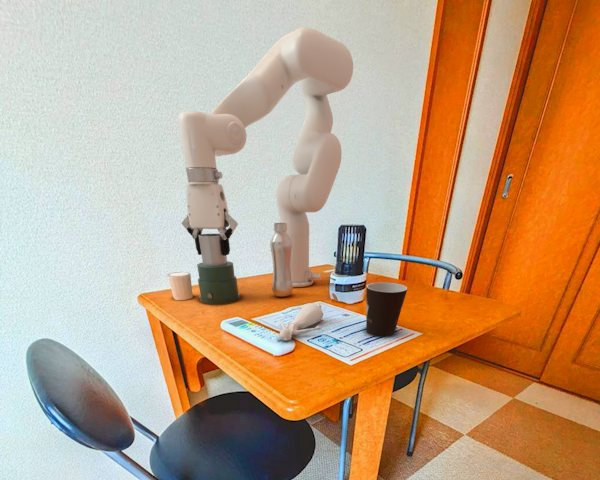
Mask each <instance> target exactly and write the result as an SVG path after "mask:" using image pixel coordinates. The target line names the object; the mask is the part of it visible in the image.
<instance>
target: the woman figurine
mask: <svg viewBox="0 0 600 480" xmlns="http://www.w3.org/2000/svg"><path fill="white" fill-rule="evenodd" d="M323 318H324V312H323V309H322V305H321V304H319V305H318V304H316V303H313V302H312V303H311V302H310V303H308V302H307V303H305V304H303V305H302V306H301V308H300V309H299V311H298V313H297V314H296V316H295V317H294V319H292V322H291V321H288V323H287V324H286V326H285V325H284V324H283V322H282V319H281V318H278V319H277V322H278V324H279V325H280V327H281V328H282V329H281V330H280V331H279V334H278V338H279V340H281V341H283V342H288V341H290V340H292V337H293V336H297V335H299V334H301V333H306V332H312V331H320V330H322V329H323V326H320V325H316V326H315V327H311V326H314V325H315V324H317V323H319V322H321V321H322V320H323ZM308 327H311V328H308ZM280 337H281V338H280ZM284 338H286V339H284Z"/></svg>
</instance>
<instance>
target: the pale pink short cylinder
mask: <svg viewBox="0 0 600 480" xmlns="http://www.w3.org/2000/svg"><path fill="white" fill-rule="evenodd" d="M166 278H167V281H168V284H169V287H170V290H171V293H172V297H173V299H174V300H175V301H186V300H191V299H193V298H194V297H193V295H194V294H193V285H192V276H191V272H188V271H187V272H186V271H176V272H175V271H174V272H170V273H167V274H166Z"/></svg>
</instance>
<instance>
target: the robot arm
mask: <svg viewBox="0 0 600 480" xmlns="http://www.w3.org/2000/svg"><path fill="white" fill-rule="evenodd" d="M353 73H354V61H353V56H352V54H351V51H350V49H349V48H348V47H347V46H346V45H345V44H344V43H342V42H340V41H339V40H337V39H335V38H333V37H331V36H329V35H327V34H325V33H323V32H321V31H319V30H317V29H314V28H311V27H308V26H301V27H298V28H296V29H294V30H293V31H290V32H289V33H287V34H286V35H284V36H282V37H280V38H279V39H278V40H276V42H274V44H272V46H271V47H270V48H269V49H268V50H267V52H266V53H265V54H264V55H263V56H262V58H261V59H260V60H259V61H258V62H257V64H256V65H255V66H253V68H252V69H251V71H249V73H248V74H247V75H246V76H245V77H244V78H243V79H242V80H241V81H240V82H239V83H238V84H237V85H236V86H235V87H234V88H233V89H232V90H231V91H230V92H229V93H228V94H226V96H225V97H224V98H223V99H222V100H220V102H219V103H218V104H217V105H216V106H215V107H214V108H213V110H212V111H210V113H209V114H207V113H205V112H202V111H196V110H185V111H182V112H180V113H179V114H178V117H177V123H178V124H177V125H178V130H179V136H180V142H181V148H182V154H183V159H184V160H183V161H184V166H185V171H186V176H187V177H186V178H187V184H186V187H185V188H186V189H185V191H186V192H185V193H186V197H185V198H186V208H187V215H186V216H185V217H184V219H183V220H182V221H181V225H182V226H183V227H184V228H185V230H186V231H187V232H188V234H189V235H190V236H191V238H192V239H193V240H194V243H195V249H196V251H197V255H199V256H200V255H201V249H200V243H199V237H198V235H201V234H203V229H204V230H217V231H218V234H220V235H221V237H222V240H221V247H222V255H223V256H228V255H230V252H231V246H230V239H231V236H232V235H233V233H234V232H235V230H236V229H237V227H238V225H239V224H238V222H237V220H236V219H234V218H233V217H232V216H231V215H230V214H229V207H228V203H227V199H226V195H225V191H224V187H223V185H222V184H219V183H220V181H219V180H220V179H223V173H222V172H221V171H218V167H217V160H216V157H221V156H229V155H234V154H237V153H239V152H240V151H242V150H243V148H244V147H245V145H246V143H247V129H246V128H247V127H249V126H251V125H252V124H254V123H256V122H258V121H260V120H262V119H264V118H265V117H266V116H267V115H269V114H270V113H271V112H272V111H273V110H274V109H275V107H276V106H277V105H278V104H279V103H280V101H281V100H282V99H283V98H284V97H285V95H286V94H287V93H288V92H289V91H290V89H291V88H292V87H293V86H294V85H296V83H298V82H299V87H300V91H301V95H302V98H303V102H304V106H305V107H304V108H305V114H304V119H303V124H302V126H301V129H300V131H299V135H298V138H297V141H296V144H295V147H294V149H293V154H292V166H293V169H294V170H295V172H297V173H298V174H289V175H286V176H285V177H283V178H281V180H279V182H278V184H277V186H276V189H275V199H276V204H277V209H278V215H279V223H286V224H287V231H286V233H287V235H288V236H289V238H290V240H291V242H292V250H291V263H290V270H291V280H292V285H293V288H304V287H309V286H311V285H313V284H314V280H315V281H321V280H322V274H321V273H319V272H312V269H311V268H310V223H309V218H308V215H307V213H317V212H320V211H321V210H322V209H323V208H324V206H325V205H326V203H327V202H328V200H329V199H328V198H329V196H330V194H331V192H332V188H333V186H334V183H335V180H336V177H337V175H338V173H339V169H340V167H341V163H342V146H341V145H342V144H341V142H340V139H339V138H338V137H337V135H335V134H334V133H332V129H333V123H334V117H333V112H332V109H331V105H330V101H329V98H328V95H331V94H334V93H337V92H340V91H342V90H344V89H346V88H347V86H348V85H349V84H350V82H351V80H352V77H353ZM201 256H202V255H201Z"/></svg>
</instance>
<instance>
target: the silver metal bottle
mask: <svg viewBox="0 0 600 480" xmlns="http://www.w3.org/2000/svg"><path fill="white" fill-rule="evenodd" d="M273 231H274V234H273V235H272V237H271V240H270V243H269V248H270V254H271V261H272V282H271V290H272V294H273V295H274V296H275V297H280V298H281V297H283V298H284V297H289V296H291V295H292V293H293V290H294V289H293V288H294V287H293V285H292V280H291V270H290V263H291V250H292V242H291V240H290V238H289V236H288V235H287V233H286V231H287V224H286V223H280V222H274V223H273Z"/></svg>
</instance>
